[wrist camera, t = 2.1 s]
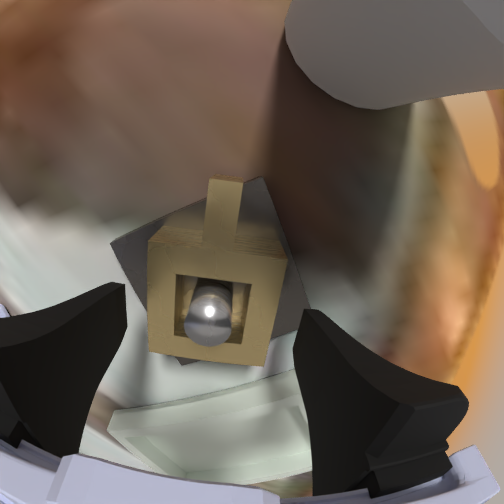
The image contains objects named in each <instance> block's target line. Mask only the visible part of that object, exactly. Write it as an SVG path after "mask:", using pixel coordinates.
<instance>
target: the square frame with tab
mask: <svg viewBox="0 0 504 504" xmlns="http://www.w3.org/2000/svg"><path fill="white" fill-rule="evenodd" d="M242 188H243V178H241V177H234V176H226V175H218V174H215V175H213V176H212V177H211V178H210V179H209V187H208V194H207V202H206V211H205V219H204V228H203V230H195V229H187V228H179V227H172V226H164V225H163V226H162V227H161V228H160V229H159V230H158V231H157V232H156V233H155V234H154V235H153V236H152V237H151V238H150V239H149V240H148V258H147V318H148V343H149V352H155V353H160V354H166V355H172V356H178V357H184V358H191V359H198V360H205V361H213V362H221V363H230V364H240V365H251V366H263V367H264V363H265V359H266V355H267V351H268V346H269V342H270V338H271V334H272V329H273V325H274V321H275V316H276V312H277V307H278V303H279V298H280V294H281V289H282V285H283V280H284V275H285V271H286V266H287V261H288V259H287V256H286V254H285V252H284V250H283V247H282V245H281V243H280V241H276V240H269V239H262V238H255V237H247V236H240V235H236V228H237V221H238V215H239V208H240V201H241V194H242ZM185 275H188V276H195V277H202V278H210V279H217V280H225V281H233V282H241V283H246V289H245V295H244V301H243V307H242V314H241V316H235V315H232V329H231V334H230V336H229V338H228V339H227V340H226V341H225V342H224V343H222V344H220V345H217V346H212V347H208V346H202V345H199V344H197V343H195V342H193V341H192V340H191V339H190V338H189V337H188V336H187V334H186V332H185V329H184V322H185V318H186V315H187V311H188V309H183V295H184V279H185Z"/></svg>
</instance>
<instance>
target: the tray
mask: <svg viewBox="0 0 504 504" xmlns="http://www.w3.org/2000/svg"><path fill="white" fill-rule="evenodd" d="M107 431H108V432H109V433H110V434H111V435H112V436H113V437H114V438H115V439H116V440H117V441H119V442H120V443H121V444H122V445H123V446H124V447H125V448H126V449H128V450H129V451H130V452H131V453H132V454H134V455H135V456H136V457H137V458H138V459H140V460H141V461H142V462H143V463H145V464H146V465H147V466H148V467H150V468H151V469H152V470H154V471H155V472H156V473H159V474H164V475H169V476H175V477H181V478H187V479H195V480H203V481H212V482H223V483H234V484H241V485H246V484H253V483H258V482H264V481H269V480H274V479H279V478H283V477H288V476H292V475H296V474H300V473H304V472H308V471H311V470H312V457H311V446H310V436H309V428H308V420H307V415H306V410H305V407H304V403H303V399H302V395H301V391H300V388H299V384H298V380H297V376H296V372H295V369H293V370H290V371H287V372H284V373H281V374H278V375H274V376H271V377H268V378H265V379H261V380H258V381H255V382H251V383H248V384H244V385H240V386H237V387H233V388H229V389H225V390H221V391H217V392H213V393H209V394H205V395H200V396H196V397H191V398H187V399H182V400H177V401H171V402H166V403H161V404H155V405H149V406H142V407H136V408H129V409H121V410H114V413H113V415H112V418H111V420H110V423H109V426H108V428H107Z"/></svg>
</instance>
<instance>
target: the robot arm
mask: <svg viewBox="0 0 504 504" xmlns="http://www.w3.org/2000/svg"><path fill="white" fill-rule="evenodd" d="M126 329H127V313H126V295H125V284H120V283H115V282H110V283H107V284H104V285H102V286H99V287H97V288H95V289H92V290H90V291H88V292H86V293H84V294H81V295H79V296H77V297H75V298H72V299H70V300H67V301H65V302H62V303H60V304H57V305H55V306H52V307H49V308H46V309H42V310H39V311H35V312H31V313H26V314H21V315H16V316H11V317H10V316H9V314H8V312H7V310H6V309H5V307H4V306H3V305H2V304H0V504H484V503H485V502H486V501H488V500H489V499H490V498H491V497H493V496H494V495H495V494H497V493H498V492H499V491H500V487H499V485H498V483H497V482H496V480H495V478H494V476H493V474H492V473H491V471H490V469H489V467H488V466H487V464H486V462H485V460H484V458H483V457H482V456H481V454H480V452H479V450H478V448H477V447H476V445H471V446H469V447H467V448H465V449H462V450H460V451H457V452H455V453H453V454H452V455H451V456H449V457H448V456H447V454H446V453H445V451H446V450H447V449H448V448H449V445H448V443H447V441H446V439H447V438H448V436H449V435H450V434H451V433H452V432H453V431H454V430H455V428H456V427H457V426H458V425H459V423H460V422H461V421H462V419H463V418H464V416H465V415H466V413H467V410H468V406H469V402H468V399H467V398H466V396H465V395H464V394H463V392H462V391H461V390H460V389H459V387H458V386H455V385H451V384H447V383H443V382H439V381H435V380H431V379H428V378H426V377H423V376H420V375H417V374H415V373H412V372H410V371H407V370H405V369H403V368H401V367H399V366H397V365H394V364H393V363H391V362H389V361H387V360H385V359H384V358H382V357H380V356H378V355H377V354H375V353H374V352H372V351H371V350H369V349H368V348H366V347H365V346H363V345H362V344H361V343H359V342H358V341H357V340H355V339H354V338H353V337H351V336H350V335H349V334H348V333H346V332H345V331H344V330H343V329H342V328H340V327H339V326H338V325H337V324H336V323H334V322H333V321H332V320H331V319H330V318H329V317H327V316H326V315H325V314H324V313H322V312H321V311H319V310H315V309H304V310H303V314H302V317H301V321H300V325H299V328H298V332H297V335H296V339H295V342H294V346H293V358H294V367H295V372H296V376H297V380H298V384H299V388H300V391H301V395H302V399H303V403H304V407H305V410H306V415H307V420H308V428H309V436H310V446H311V457H312V477H313V496H312V497H300V498H283V499H280V498H279V496H278V495H276V494H274V493H272V492H270V491H267V490H265V489H262V488H260V487H256V486H248V485H241V484H234V483H223V482H212V481H203V480H195V479H187V478H181V477H175V476H169V475H164V474H159V473H154V472H149V471H145V470H141V469H136V468H133V467H129V466H125V465H121V464H118V463H114V462H111V461H108V460H104V459H101V458H97V457H92V456H88V455H84V454H80V453H79V454H78V452H79V447H80V443H81V438H82V434H83V430H84V426H85V423H86V419H87V416H88V413H89V410H90V407H91V404H92V401H93V398H94V395H95V393H96V390H97V388H98V386H99V384H100V382H101V380H102V378H103V376H104V374H105V373H106V371H107V369H108V367H109V365H110V363H111V362H112V360H113V358H114V356H115V354H116V352H117V351H118V349H119V347H120V345H121V342H122V340H123V337H124V335H125V332H126Z"/></svg>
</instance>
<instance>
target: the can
mask: <svg viewBox="0 0 504 504" xmlns="http://www.w3.org/2000/svg"><path fill="white" fill-rule="evenodd" d="M285 33H286V42H287V44H288V46H289V49H290V51H291V53H292V55H293V58H294V60H295V62H296V64H297V65H298V66H299V67H300V68H301V69H302V71H303V72H304V73H305V74H306V75H307V76H308V78H309V79H310V80H311V81H312V82H313V83H314V84H315V85H317V86H318V87H320V88H321V89H322V90H324V91H325V92H326V93H328V94H329V95H330V96H332V97H333V98H335V99H338V100H340V101H343V102H345V103H348V104H350V105H352V106H355V107H358V108H367V109H375V110H381V109H386V108H391V107H395V106H400V105H405V104H409V103H414V102H419V101H424V100H429V99H434V98H439V97H445V96H451V95H457V94H464V93H471V92H478V91H487V90H496V89H504V0H292V2H291V4H290V7H289V10H288V13H287V16H286V18H285Z"/></svg>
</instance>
